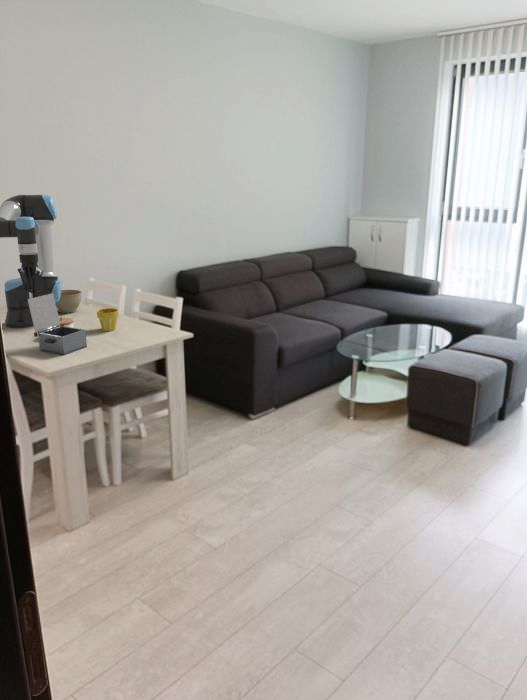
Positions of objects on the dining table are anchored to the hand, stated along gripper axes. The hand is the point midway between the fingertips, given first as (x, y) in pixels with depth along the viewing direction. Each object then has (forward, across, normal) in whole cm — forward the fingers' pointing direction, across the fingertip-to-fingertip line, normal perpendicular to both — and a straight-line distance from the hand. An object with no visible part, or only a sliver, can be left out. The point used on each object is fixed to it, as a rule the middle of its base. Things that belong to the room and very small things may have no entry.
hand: (34, 306), depth 257 cm
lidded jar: (+18, 0, +15) cm, 23 cm away
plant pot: (+18, +11, +35) cm, 41 cm away
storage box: (+18, +15, 0) cm, 23 cm away
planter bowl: (+18, -34, +54) cm, 66 cm away
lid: (+2, +7, 0) cm, 7 cm away
